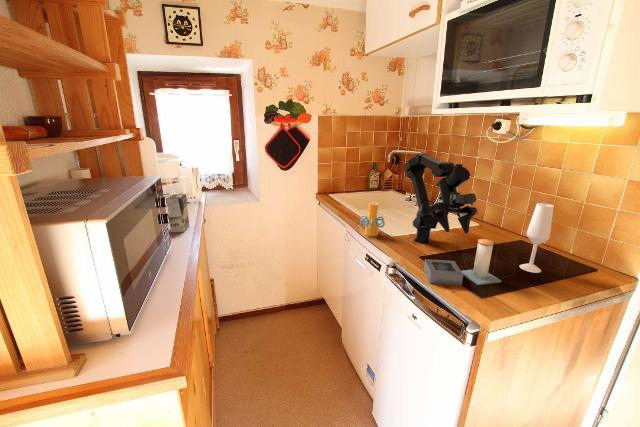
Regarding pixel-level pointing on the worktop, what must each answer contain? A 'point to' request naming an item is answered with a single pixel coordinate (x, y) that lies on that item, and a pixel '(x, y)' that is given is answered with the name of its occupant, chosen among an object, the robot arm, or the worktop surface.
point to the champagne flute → (538, 232)
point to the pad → (479, 281)
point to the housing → (443, 272)
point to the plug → (482, 258)
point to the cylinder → (372, 221)
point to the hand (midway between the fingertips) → (457, 232)
